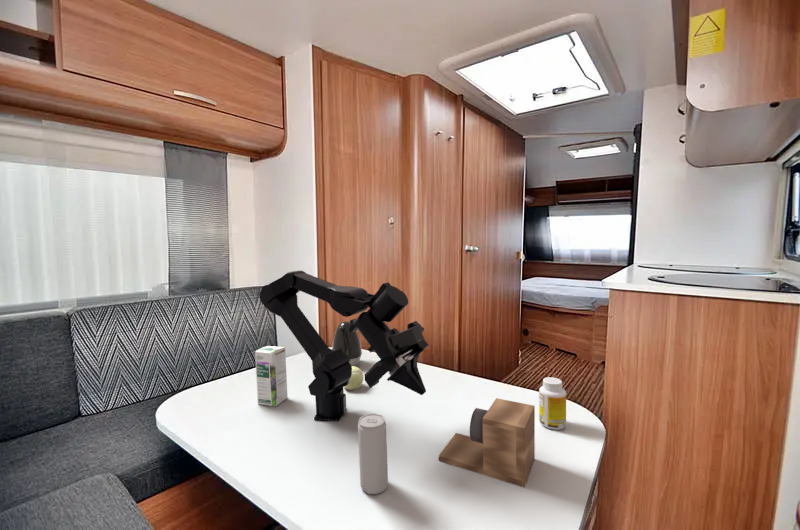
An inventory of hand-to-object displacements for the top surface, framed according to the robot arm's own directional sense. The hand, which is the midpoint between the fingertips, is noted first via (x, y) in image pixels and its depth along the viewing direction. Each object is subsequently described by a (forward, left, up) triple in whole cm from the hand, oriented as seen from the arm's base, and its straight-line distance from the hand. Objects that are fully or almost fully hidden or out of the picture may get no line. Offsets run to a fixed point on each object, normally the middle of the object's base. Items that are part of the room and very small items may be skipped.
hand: (424, 393), depth 75 cm
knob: (+14, -6, -7) cm, 17 cm away
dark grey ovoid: (-28, +45, -11) cm, 54 cm away
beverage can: (-9, -14, -11) cm, 20 cm away
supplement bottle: (+28, +8, -11) cm, 31 cm away
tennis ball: (-22, +27, -11) cm, 36 cm away
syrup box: (-41, +18, -11) cm, 46 cm away
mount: (+12, -6, -11) cm, 17 cm away
